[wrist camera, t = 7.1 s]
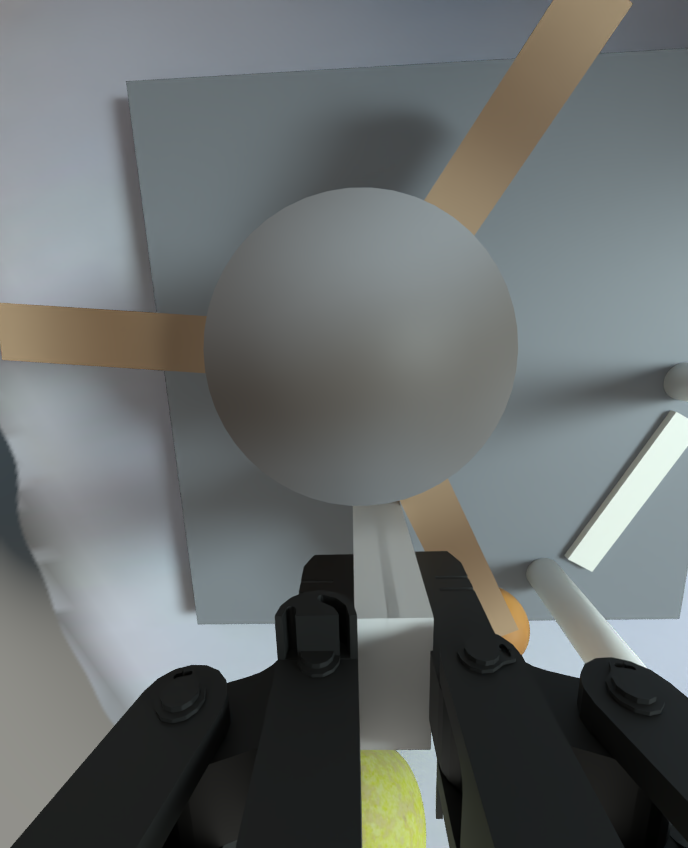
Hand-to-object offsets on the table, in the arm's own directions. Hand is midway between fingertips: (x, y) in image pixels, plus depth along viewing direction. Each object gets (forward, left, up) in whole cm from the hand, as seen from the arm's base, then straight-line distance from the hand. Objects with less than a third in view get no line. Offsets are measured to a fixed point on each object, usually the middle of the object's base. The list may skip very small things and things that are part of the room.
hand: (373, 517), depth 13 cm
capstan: (-3, +1, -3) cm, 4 cm away
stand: (-4, +3, -4) cm, 6 cm away
